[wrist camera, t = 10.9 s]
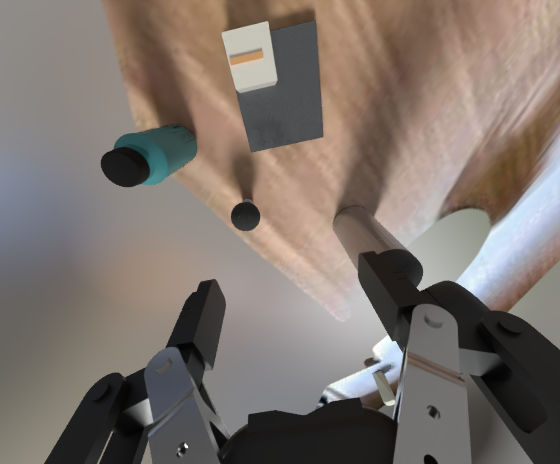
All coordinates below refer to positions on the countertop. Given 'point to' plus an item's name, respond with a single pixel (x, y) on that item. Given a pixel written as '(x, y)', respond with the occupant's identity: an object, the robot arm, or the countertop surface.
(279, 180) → the countertop surface
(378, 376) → the cream upright cylinder
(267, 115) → the plate
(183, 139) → the beverage bottle
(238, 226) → the light bulb
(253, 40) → the white box
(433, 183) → the countertop surface
